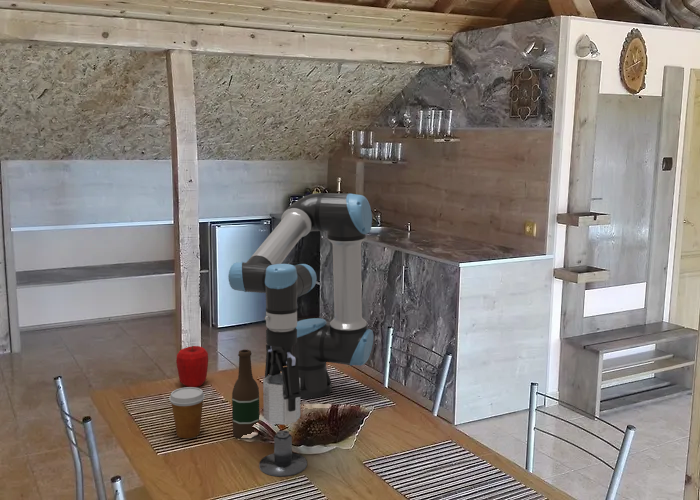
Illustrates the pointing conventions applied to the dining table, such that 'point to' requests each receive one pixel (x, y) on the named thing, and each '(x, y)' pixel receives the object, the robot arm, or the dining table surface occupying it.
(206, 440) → the dining table surface
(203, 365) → the apple
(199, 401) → the disposable coffee cup
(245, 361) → the beer bottle
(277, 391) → the sleeve
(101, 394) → the dining table surface
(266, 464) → the duct stub
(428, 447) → the dining table surface
